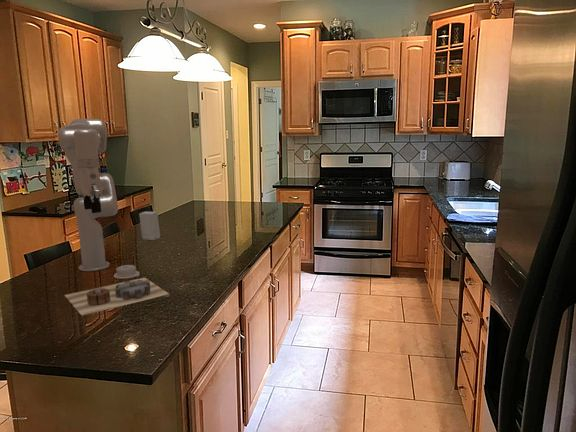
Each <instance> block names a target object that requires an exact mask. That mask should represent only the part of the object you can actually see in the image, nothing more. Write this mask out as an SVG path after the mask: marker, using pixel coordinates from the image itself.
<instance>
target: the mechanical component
mask: <svg viewBox="0 0 576 432" xmlns="http://www.w3.org/2000/svg"><path fill="white" fill-rule="evenodd" d="M140 276H141V274H140V271H138V270H137V267H136V265H133V264H126V265H121V266H118V267H116V273H114V274H113V277H114V278H115V279H121V280H122V279H131V278H135V277H137V278H139V277H140Z"/></svg>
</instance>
